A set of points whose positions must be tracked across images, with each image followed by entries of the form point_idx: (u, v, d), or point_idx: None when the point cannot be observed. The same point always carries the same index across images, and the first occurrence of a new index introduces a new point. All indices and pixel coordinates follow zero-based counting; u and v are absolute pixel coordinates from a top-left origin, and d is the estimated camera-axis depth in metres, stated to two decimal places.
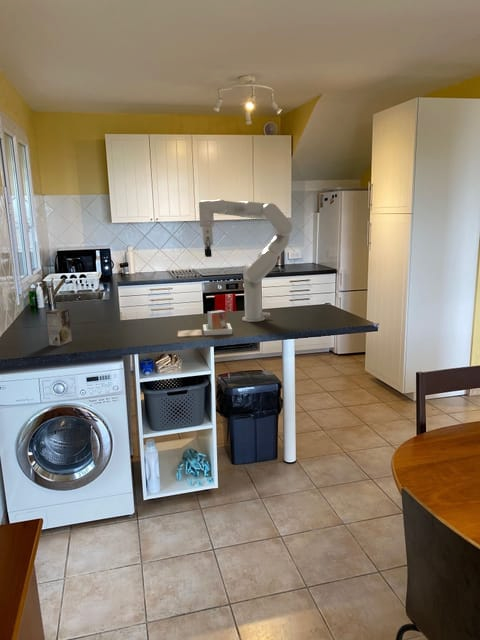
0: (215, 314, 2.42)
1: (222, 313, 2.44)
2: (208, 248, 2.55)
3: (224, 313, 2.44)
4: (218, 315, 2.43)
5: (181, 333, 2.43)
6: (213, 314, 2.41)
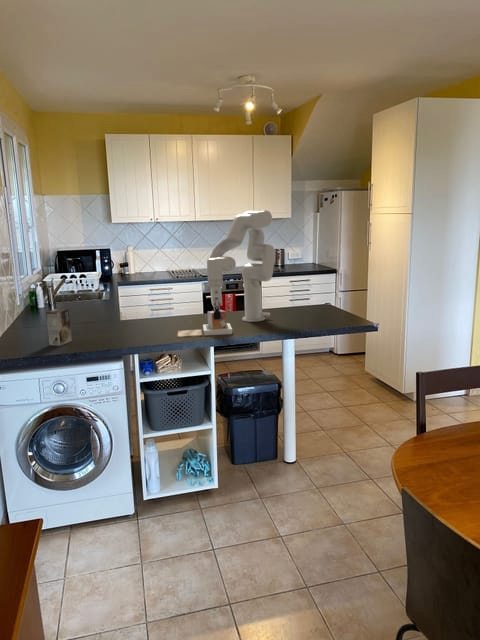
0: None
1: (223, 313, 2.44)
2: (217, 310, 2.39)
3: (224, 313, 2.44)
4: None
5: (181, 333, 2.43)
6: (213, 314, 2.41)
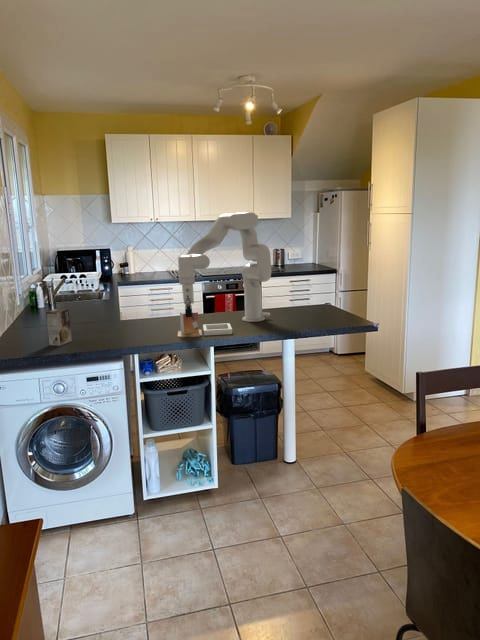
0: None
1: (194, 314, 2.40)
2: (188, 308, 2.35)
3: (196, 314, 2.41)
4: None
5: (181, 333, 2.43)
6: (184, 315, 2.38)
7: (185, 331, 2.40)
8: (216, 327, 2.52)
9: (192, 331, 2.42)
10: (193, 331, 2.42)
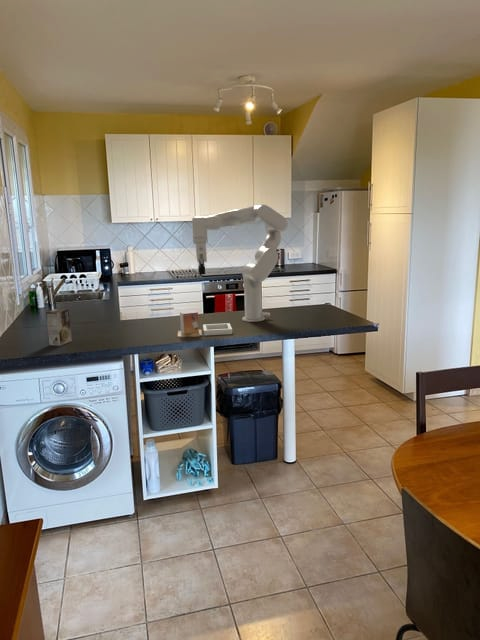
0: (186, 315, 2.39)
1: (194, 314, 2.40)
2: (202, 265, 2.49)
3: (196, 314, 2.41)
4: (190, 316, 2.40)
5: (181, 333, 2.43)
6: (184, 315, 2.38)
7: (185, 331, 2.40)
8: (216, 327, 2.52)
9: (192, 331, 2.42)
10: (193, 331, 2.42)
